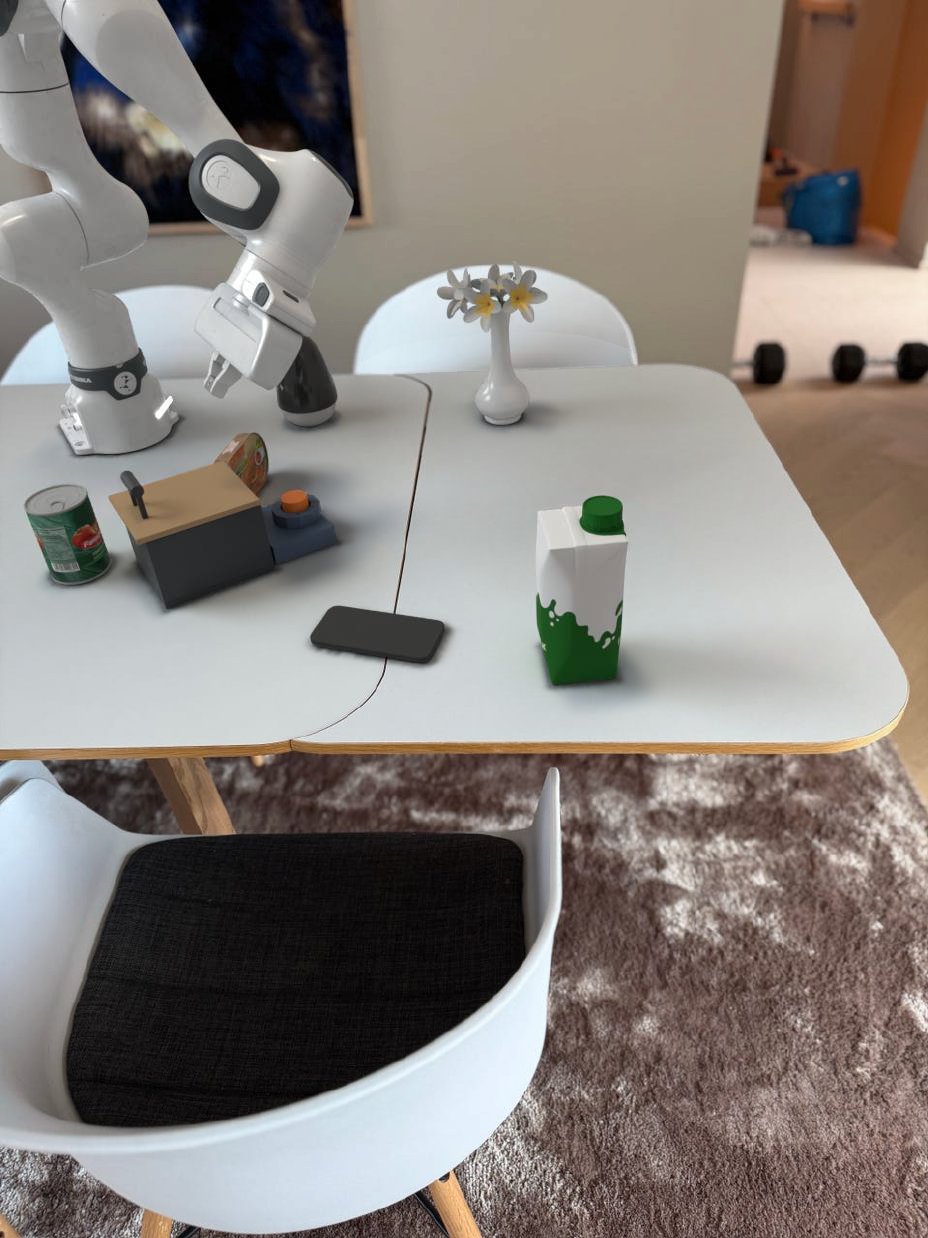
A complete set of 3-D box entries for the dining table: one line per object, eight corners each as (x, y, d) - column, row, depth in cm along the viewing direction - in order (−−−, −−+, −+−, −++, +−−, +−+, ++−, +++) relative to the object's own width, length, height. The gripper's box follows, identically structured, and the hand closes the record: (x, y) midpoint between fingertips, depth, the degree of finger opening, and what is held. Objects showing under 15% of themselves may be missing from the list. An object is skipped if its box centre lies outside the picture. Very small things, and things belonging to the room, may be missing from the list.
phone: (427, 659, 103) (306, 640, 107) (427, 665, 103) (307, 645, 107) (447, 620, 109) (331, 603, 112) (447, 626, 109) (332, 609, 113)
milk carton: (626, 683, 99) (636, 525, 87) (543, 691, 99) (542, 534, 87) (609, 634, 106) (616, 481, 94) (532, 641, 106) (529, 490, 94)
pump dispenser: (325, 402, 164) (311, 318, 154) (350, 421, 156) (338, 334, 147) (272, 417, 160) (255, 332, 150) (296, 438, 152) (279, 350, 143)
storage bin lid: (138, 545, 109) (125, 506, 106) (109, 501, 118) (97, 463, 115) (260, 504, 115) (252, 466, 112) (224, 465, 124) (215, 429, 121)
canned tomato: (50, 562, 126) (22, 492, 119) (108, 547, 128) (84, 477, 121) (53, 591, 120) (24, 519, 113) (114, 575, 122) (89, 504, 116)
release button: (289, 517, 124) (286, 505, 123) (278, 506, 126) (276, 495, 125) (313, 508, 125) (311, 497, 124) (302, 498, 128) (300, 487, 127)
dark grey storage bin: (166, 609, 115) (145, 543, 109) (137, 562, 124) (116, 499, 119) (275, 570, 121) (261, 505, 115) (239, 528, 130) (224, 465, 124)
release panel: (276, 564, 122) (270, 536, 119) (246, 530, 130) (240, 502, 127) (338, 542, 126) (333, 514, 123) (306, 509, 133) (301, 482, 131)
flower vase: (467, 395, 163) (458, 249, 147) (563, 410, 155) (564, 258, 140) (432, 425, 154) (418, 273, 138) (532, 442, 146) (530, 284, 131)
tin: (236, 522, 132) (223, 470, 127) (216, 521, 132) (202, 469, 127) (273, 472, 143) (263, 422, 138) (255, 471, 144) (244, 422, 139)
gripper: (213, 256, 114) (162, 354, 117) (278, 301, 100) (218, 411, 103) (255, 282, 118) (205, 376, 121) (322, 329, 104) (264, 433, 107)
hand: (211, 393), depth 112 cm, fingers closed
